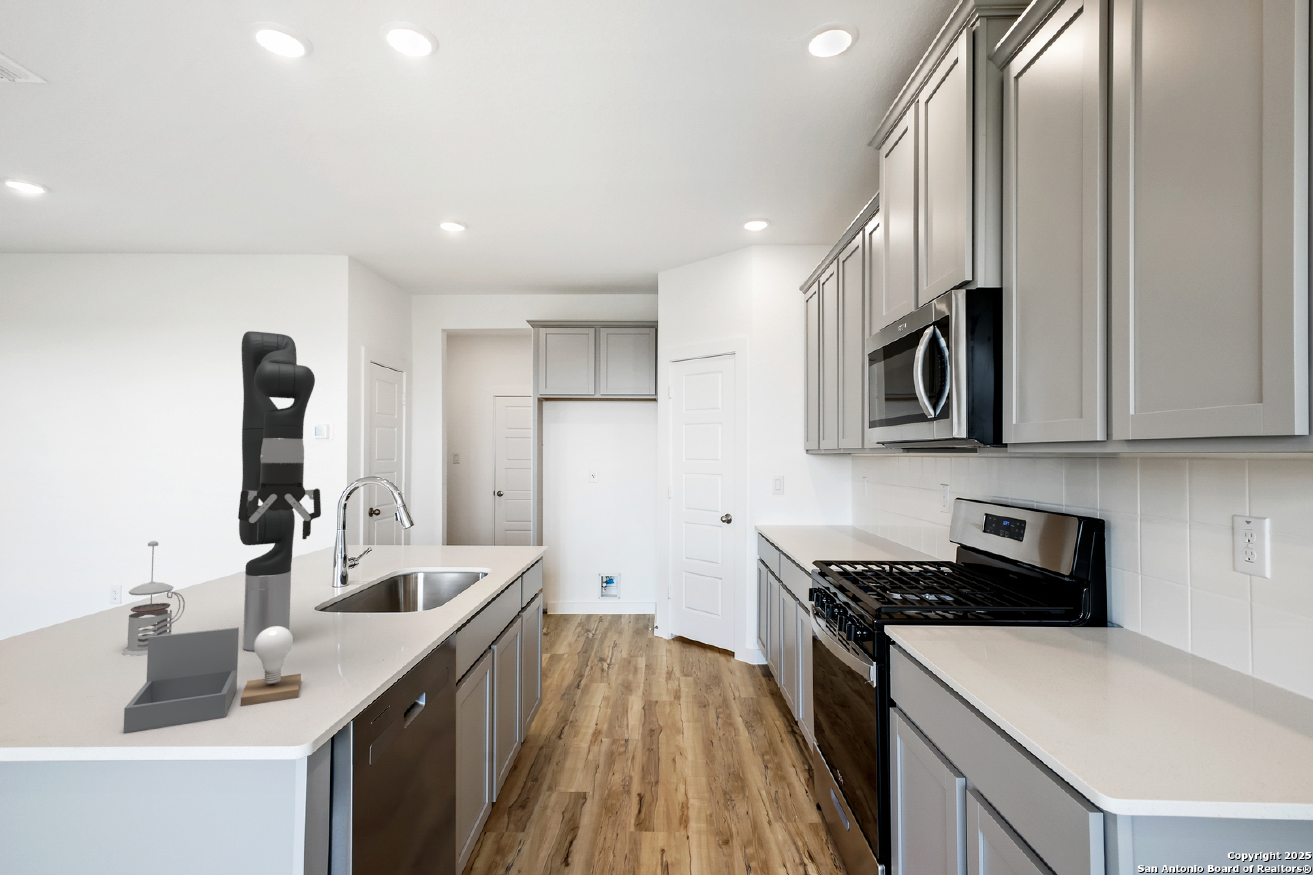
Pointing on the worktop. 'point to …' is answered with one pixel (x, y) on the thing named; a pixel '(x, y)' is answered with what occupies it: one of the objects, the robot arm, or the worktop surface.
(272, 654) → the lightbulb
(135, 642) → the french press
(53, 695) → the worktop surface
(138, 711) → the case
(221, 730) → the worktop surface
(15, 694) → the worktop surface
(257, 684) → the stand
